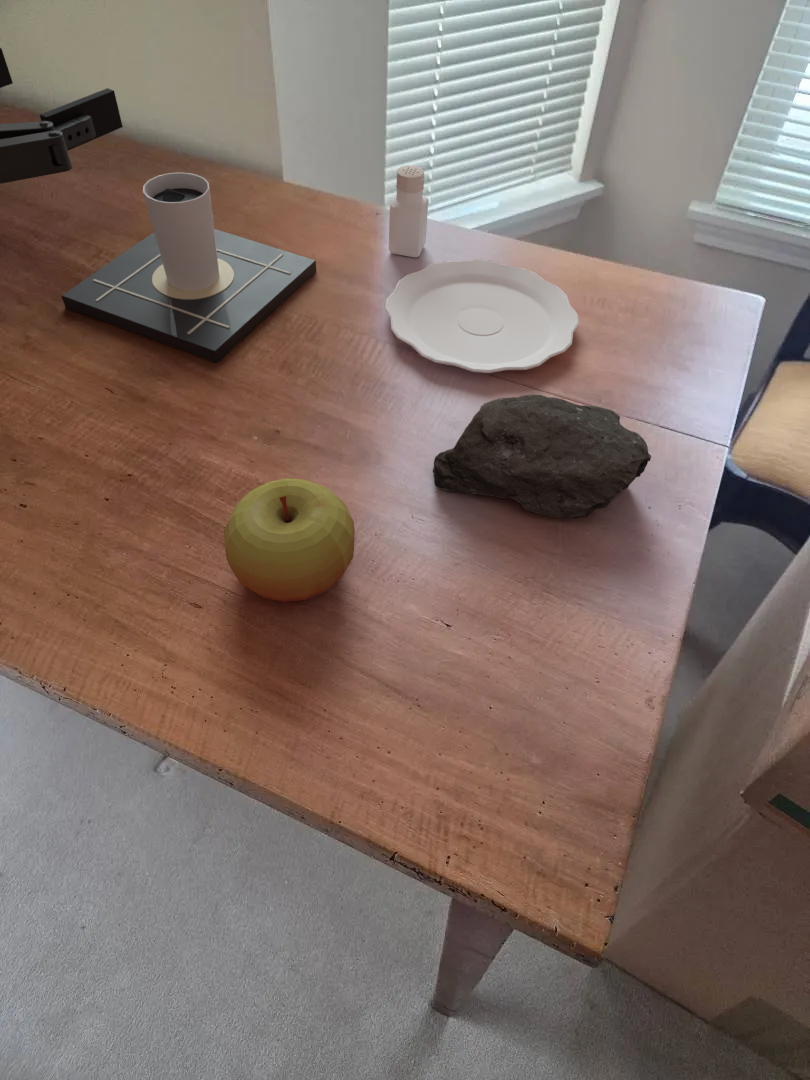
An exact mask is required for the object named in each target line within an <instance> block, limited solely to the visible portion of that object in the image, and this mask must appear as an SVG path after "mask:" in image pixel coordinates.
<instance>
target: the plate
mask: <svg viewBox="0 0 810 1080" xmlns="http://www.w3.org/2000/svg"><path fill="white" fill-rule="evenodd" d="M384 306H385V307H384V310H385V311H386V314H387V315H388V317H389V319H390V329H391V330H390V331H391V332H392V333H393V334H394V335H395V337H396V338H397V339H398V340H400V341H401V342H403V343H405V344H407V345H409V346H410V347H412V348H413V349H414V351H416V352H417V353H418V354H419V355H420V356H421V357H422V358H425V359H426V360H429V361H432V362H433V363H434V364H435V363H436V364H441V365H447V366H454V367H456V368H460V369H463V370H466V371H469V372H471V373H480V374H481V373H482V374H492V373H498V372H502V371H503V372H504V371H527V370H530V369H534V368H537V367H540V366H541V365H543V364H544V363H545V362H547V361H548V360H550V358H553V357H556V356H558V355H560V354H564V353H565V352H566V351H567V350H568V349H569V348H570V347H571V346H572V344H573V339H574V338H573V337H574V333H575V331H576V330H577V328H578V327H579V325H580V320H579V314H578V312H577V311H576V310H575V308H574V307H573V306H572V305H571V303H570V299H569V297H568V294H567V293H566V292H564V291H563V289H561V287H559V286H558V285H555V284H553V283H551V282H549V281H547V280H545V279H543V277H542V276H540V275H539V274H537V273H536V272H534V271H533V270H532V271H531V270H529V269H526V268H524V267H520V266H515V265H507V264H503V263H500V262H496V261H494V260H490V259H489V260H488V259H487V260H486V259H470V260H461V261H447V260H445V261H440V262H436V263H431V264H429V265H427V266H426V267H425V268H422V269H421V270H418V271H415V272H412V273H409V274H406V275H405V276H403V277H402V278H401V279H399V280H397V283H396V286H395V288H394V291H393V292H392V293H390V294H389V296H387V298H386V300H385V305H384Z"/></svg>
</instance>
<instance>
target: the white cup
mask: <svg viewBox="0 0 810 1080" xmlns="http://www.w3.org/2000/svg"><path fill="white" fill-rule="evenodd" d="M210 190H211V189H210V182H209V181H208V180H207V179H206V178H205V177H203V176H200V175H199V174H195V173H192V172H191V173H189V172H184V171H183V172H181V171H180V172H168V173H163V174H160V175H156V176H154V177H152V178H150V179H148V180H146V182H145V183H144V184H143V186H142V193H143V197H144V201H145V204H146V208H147V211H148V215H149V219H150V222H151V226H152V231H153V232H154V234H155V237H156V241H157V245H158V248H159V252H160V255H161V259H162V263H163V266H164V270H165V273H166V277H167V281H168V282H169V283H170V285H171V286H173V287H175V288H177V289H180V290H187V291H193V290H201V289H204V288H208V287H210V286H211V285H213V284H215V283H216V282H217V280H218V279H219V267H218V258H217V250H216V241H215V232H214V229H215V224H214V216H213V207H212V200H211V199H212V197H211V191H210Z"/></svg>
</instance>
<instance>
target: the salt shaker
mask: <svg viewBox="0 0 810 1080" xmlns="http://www.w3.org/2000/svg"><path fill="white" fill-rule="evenodd" d="M424 185H425V170H424V168H421V167H420V166H417V165H411V164H410V165H409V164H408V165H407V164H406V165H402V166H400V167H398V168H397V169H396V186H395V187H396V193H395V194H394V195H393V197H392V198H391V200H390V203H389V214H388V215H389V220H388V222H389V223H388V251H389V253H391V254H394V255H398V256H405V257H411V258H418V257H420V255H421V252H422V251H423V249H424V247H425V244H426V242H427V226H428V215H429V213H428V212H429V198H428V197H427V196H426V195H425V194H423V192H424V188H425V187H424Z"/></svg>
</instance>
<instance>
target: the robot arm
mask: <svg viewBox="0 0 810 1080" xmlns="http://www.w3.org/2000/svg"><path fill="white" fill-rule="evenodd" d="M13 84H14V82H13V79H12V76H11V73H10V70H9V67H8V64H7V61H6V58H5V55H4V52H3V48H2V47H0V89H1V88H5V87H7V86H10V85H13ZM39 118H40V121H26V122H11V123H10V122H9V123H8V122H7V123H0V185H1V184H7V183H11V182H12V183H13V182H18V181H23V180H27V179H33V178H40V177H44V176H49V175H55V174H60V173H65V172H66V173H67V172H69V171H71V170H72V169H73V164H72V162H71V158H70V154H69V151H71V150H73V149H75V148H77V147H80V146H82V145H85V144H87V143H89V142H91V141H94V140H96V139H98V138H100V137H103V136H106V135H108V134H110V133H112V132H115V131H117V130H119V129H122V128H124V126H123V123H122V119H121V114H120V110H119V105H118V100H117V97H116V92H115V90H113V89H111V88H108V87H107V88H104V89H101V90H99V91H96V92H93V93H91V94H88V95H86V96H84V97H81V98H78V99H76V100H73V101H71V102H69V103H65V104H63V105H61V106H58V107H55V108H52V109H51V110H47V111H45V112H43V113H40V114H39Z"/></svg>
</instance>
